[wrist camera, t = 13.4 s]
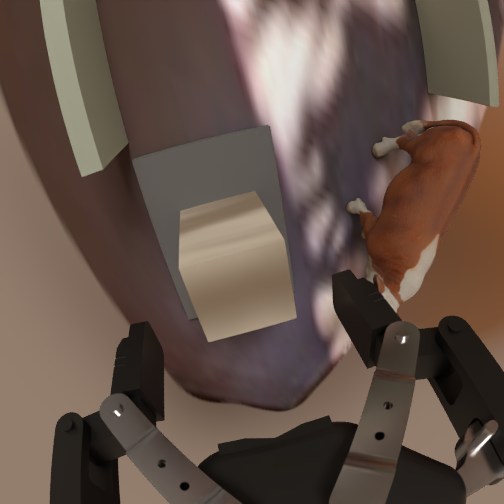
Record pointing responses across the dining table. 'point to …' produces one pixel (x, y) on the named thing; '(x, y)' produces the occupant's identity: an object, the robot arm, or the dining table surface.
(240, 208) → the cream block
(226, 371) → the dining table surface
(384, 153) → the bull figurine
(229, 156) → the grey rectangular plate
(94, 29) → the green u-shaped frame
